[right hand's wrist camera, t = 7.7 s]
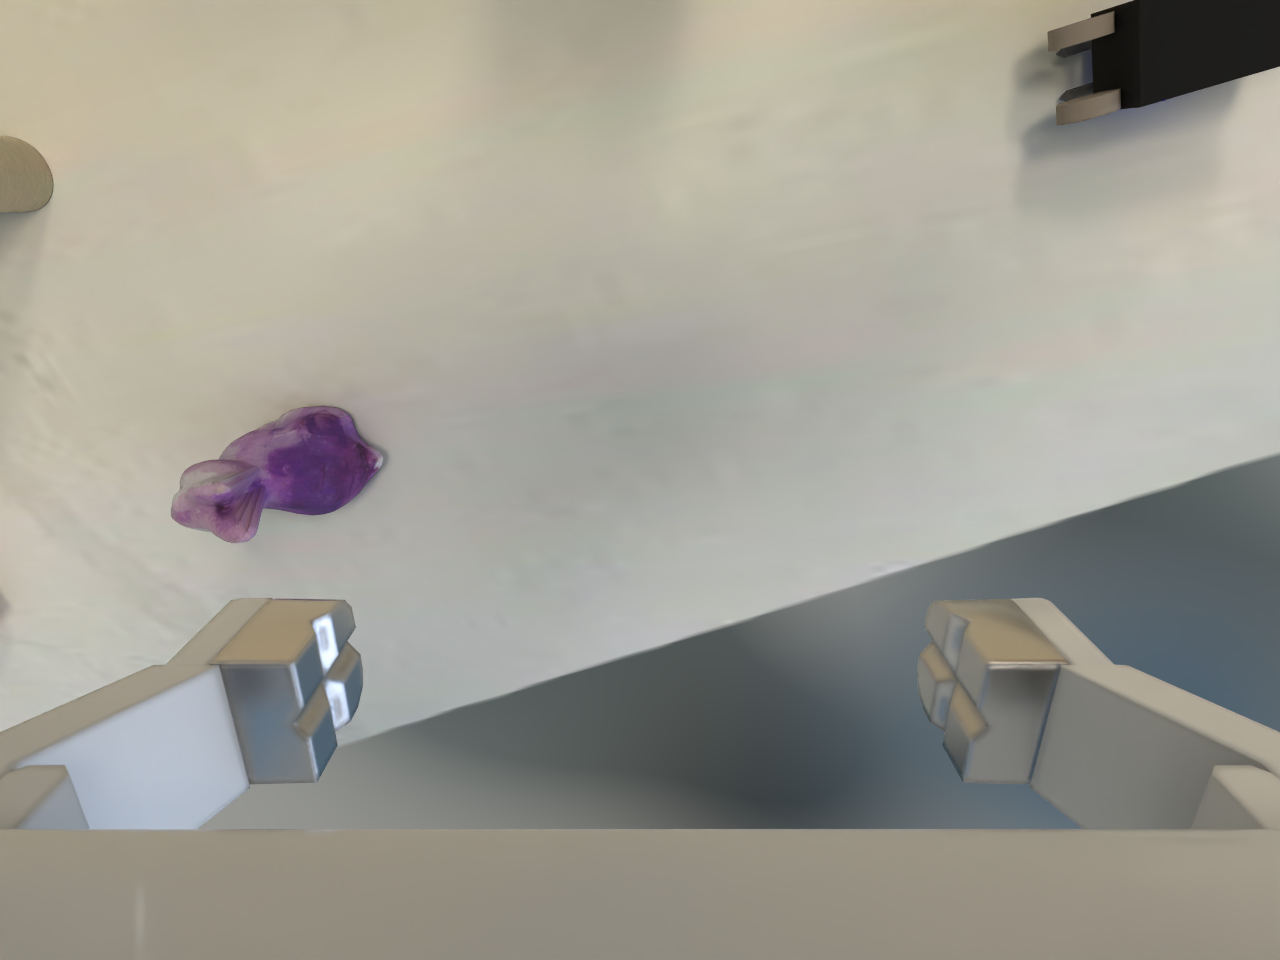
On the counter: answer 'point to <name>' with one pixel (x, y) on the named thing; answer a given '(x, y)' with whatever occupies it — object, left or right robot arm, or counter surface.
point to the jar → (22, 177)
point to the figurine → (277, 474)
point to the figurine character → (1165, 51)
